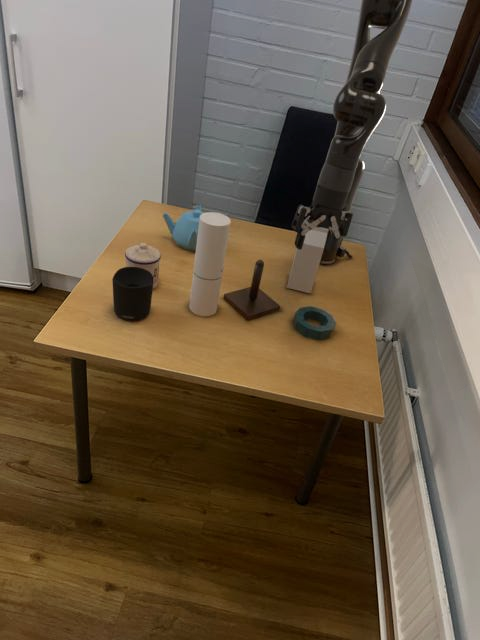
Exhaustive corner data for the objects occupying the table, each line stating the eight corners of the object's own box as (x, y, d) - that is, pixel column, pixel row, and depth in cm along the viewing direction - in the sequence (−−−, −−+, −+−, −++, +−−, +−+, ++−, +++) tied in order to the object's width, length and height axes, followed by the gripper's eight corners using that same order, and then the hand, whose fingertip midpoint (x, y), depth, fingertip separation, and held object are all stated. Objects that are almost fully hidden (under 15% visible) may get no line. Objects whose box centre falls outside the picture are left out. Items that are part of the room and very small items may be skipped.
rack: (254, 289, 132) (263, 246, 124) (279, 310, 126) (290, 266, 118) (223, 298, 126) (230, 253, 118) (247, 320, 119) (257, 275, 112)
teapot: (189, 258, 140) (193, 226, 134) (159, 237, 148) (161, 205, 142) (226, 247, 150) (231, 216, 144) (196, 228, 158) (199, 198, 151)
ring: (313, 310, 128) (315, 302, 127) (341, 333, 122) (344, 324, 120) (284, 320, 122) (286, 312, 121) (312, 344, 116) (315, 335, 114)
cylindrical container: (220, 305, 123) (235, 217, 109) (210, 319, 117) (224, 228, 103) (195, 297, 124) (206, 209, 110) (184, 310, 119) (194, 220, 104)
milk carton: (310, 294, 135) (328, 234, 124) (286, 288, 136) (301, 228, 124) (312, 282, 141) (329, 224, 130) (289, 276, 141) (304, 218, 130)
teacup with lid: (157, 293, 123) (160, 254, 116) (122, 290, 122) (122, 250, 115) (161, 270, 132) (163, 233, 126) (128, 266, 131) (129, 229, 124)
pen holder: (104, 309, 114) (104, 274, 108) (135, 296, 120) (136, 262, 114) (128, 328, 110) (129, 292, 104) (159, 313, 116) (161, 279, 110)
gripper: (352, 183, 112) (331, 244, 120) (300, 175, 107) (281, 240, 115) (368, 193, 106) (345, 257, 114) (314, 186, 101) (293, 254, 109)
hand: (313, 249), depth 115 cm, fingers open, 8 cm apart
